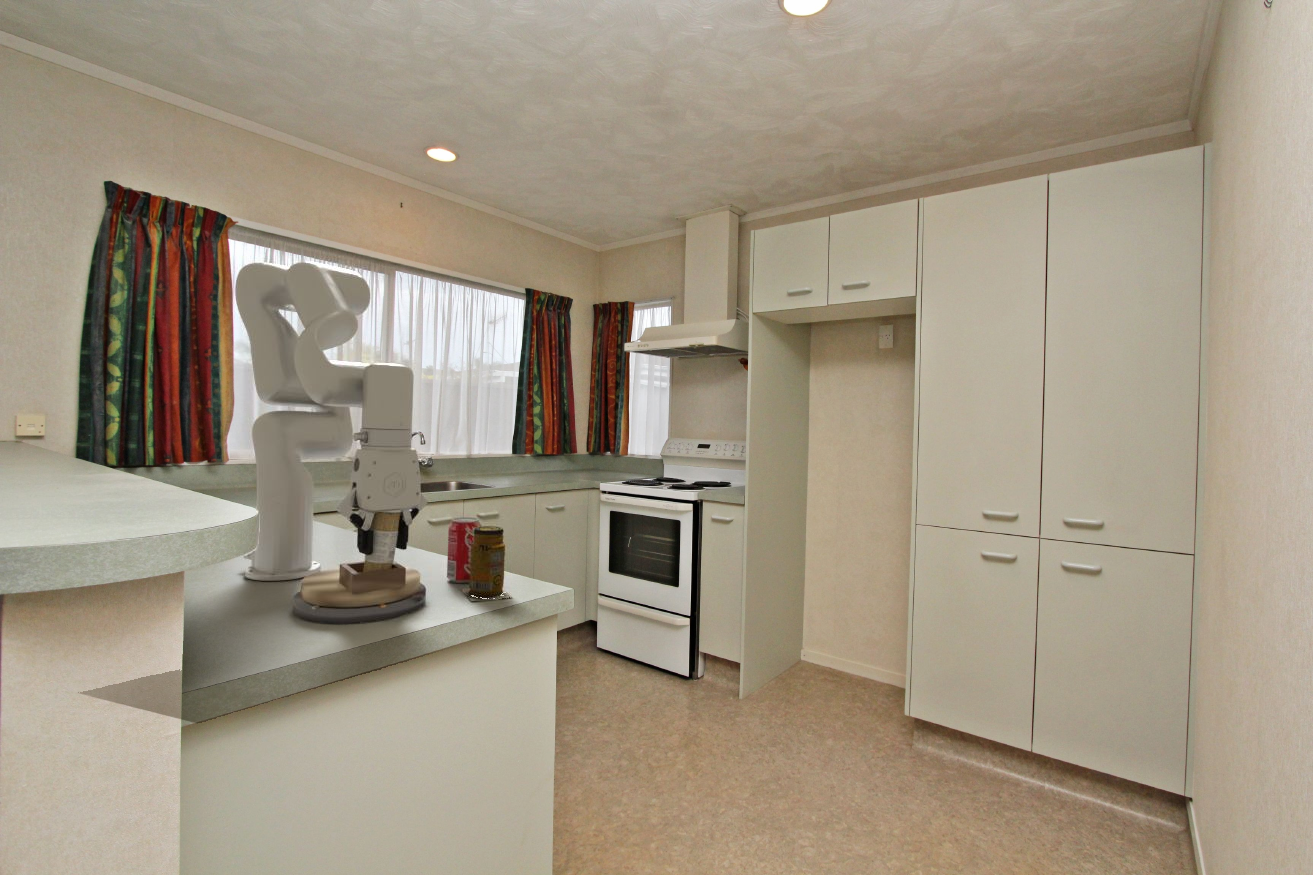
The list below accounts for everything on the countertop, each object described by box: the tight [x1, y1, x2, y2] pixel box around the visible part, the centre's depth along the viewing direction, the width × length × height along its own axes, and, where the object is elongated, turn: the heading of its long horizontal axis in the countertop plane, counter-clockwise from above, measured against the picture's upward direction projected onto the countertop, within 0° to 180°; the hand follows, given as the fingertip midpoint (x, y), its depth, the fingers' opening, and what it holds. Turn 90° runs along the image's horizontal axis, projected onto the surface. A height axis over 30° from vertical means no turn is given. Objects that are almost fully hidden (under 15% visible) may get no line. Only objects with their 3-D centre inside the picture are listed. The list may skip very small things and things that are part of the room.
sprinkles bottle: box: [363, 510, 402, 572], centre depth 100 cm, size 5×5×13 cm
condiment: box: [461, 525, 513, 602], centre depth 112 cm, size 7×8×12 cm
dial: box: [300, 560, 421, 607], centre depth 103 cm, size 18×18×5 cm
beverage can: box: [446, 516, 482, 584], centre depth 120 cm, size 6×6×12 cm
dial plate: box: [292, 582, 427, 625], centre depth 103 cm, size 20×20×2 cm
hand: (383, 549), depth 100 cm, fingers open, 5 cm apart
